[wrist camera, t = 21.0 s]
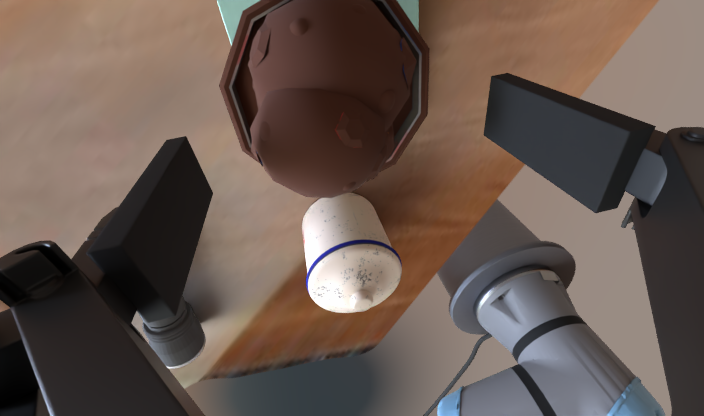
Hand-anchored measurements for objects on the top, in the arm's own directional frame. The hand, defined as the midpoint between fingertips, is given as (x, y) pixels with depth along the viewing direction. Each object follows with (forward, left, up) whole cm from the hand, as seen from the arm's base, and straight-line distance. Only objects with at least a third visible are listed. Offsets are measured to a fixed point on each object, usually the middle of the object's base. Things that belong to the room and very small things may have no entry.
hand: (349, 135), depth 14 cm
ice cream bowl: (0, 0, -13) cm, 13 cm away
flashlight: (-21, +21, -15) cm, 34 cm away
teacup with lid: (-18, 0, -15) cm, 24 cm away
